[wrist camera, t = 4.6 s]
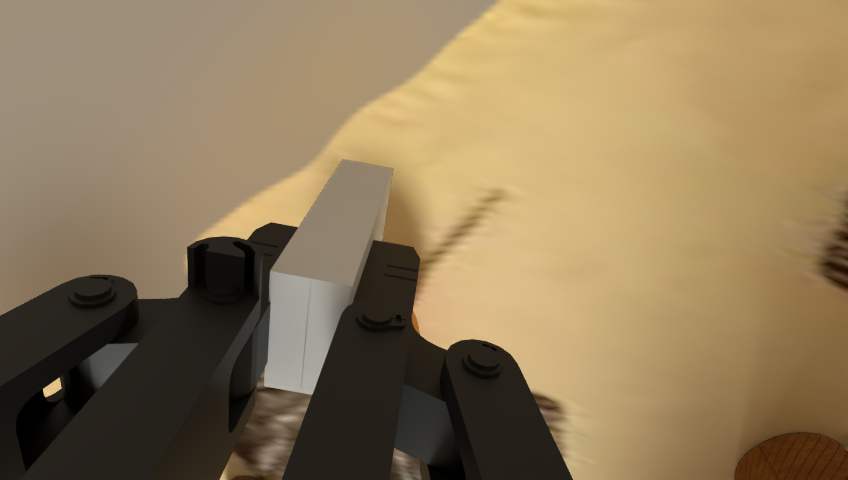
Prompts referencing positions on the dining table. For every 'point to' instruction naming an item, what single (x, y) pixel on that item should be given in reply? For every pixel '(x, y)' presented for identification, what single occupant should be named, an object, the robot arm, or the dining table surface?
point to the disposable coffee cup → (795, 459)
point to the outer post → (243, 478)
